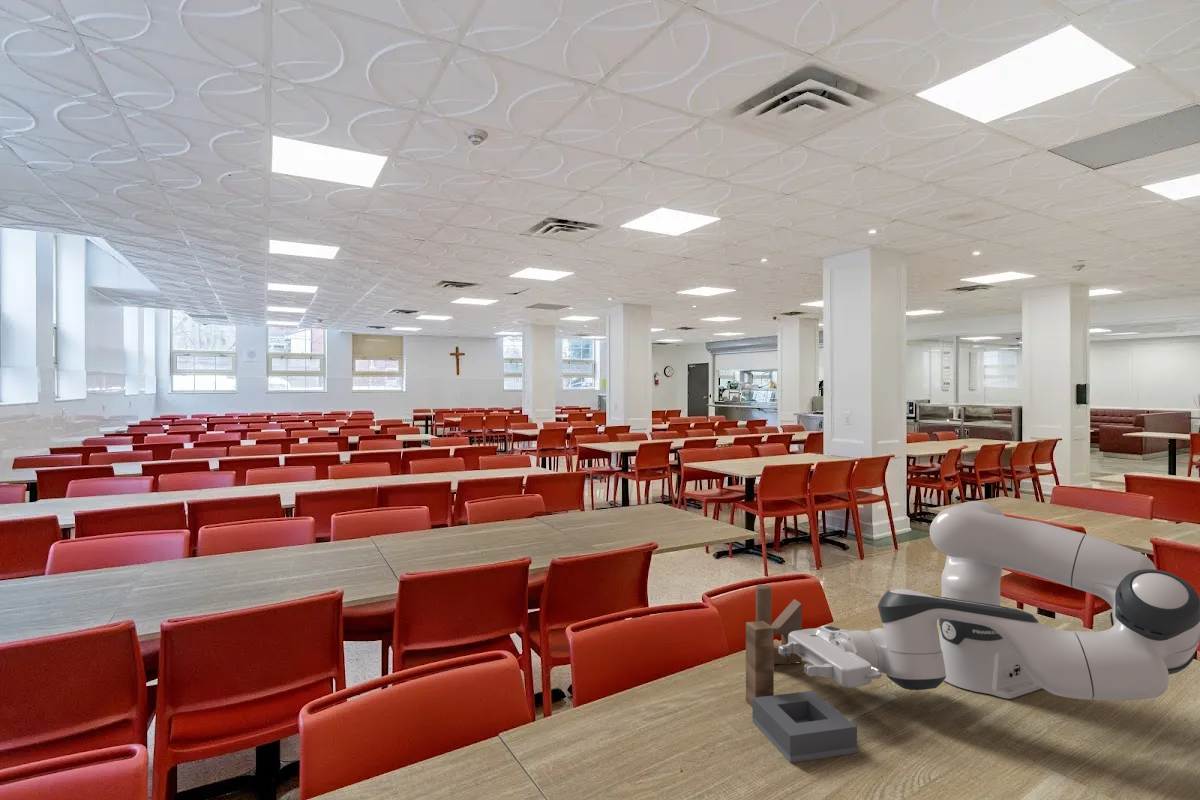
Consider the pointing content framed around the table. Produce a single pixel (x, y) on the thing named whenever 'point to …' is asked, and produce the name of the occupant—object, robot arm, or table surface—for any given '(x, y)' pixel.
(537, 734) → the table surface
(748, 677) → the brown rectangular bar
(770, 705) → the grey socket base
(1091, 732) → the table surface
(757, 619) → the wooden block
